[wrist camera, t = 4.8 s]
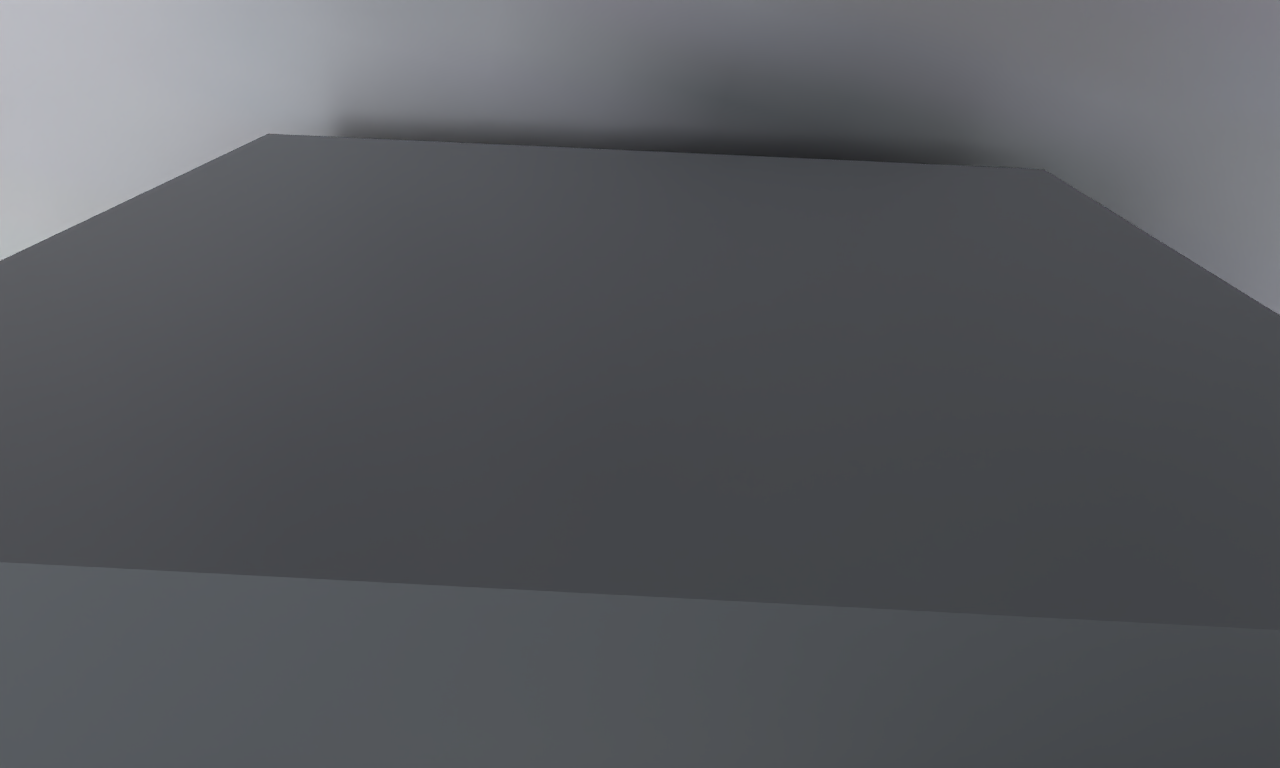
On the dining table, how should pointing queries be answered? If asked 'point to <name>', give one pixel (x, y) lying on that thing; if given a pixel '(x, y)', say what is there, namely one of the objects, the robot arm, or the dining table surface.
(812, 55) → the dining table surface
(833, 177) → the smooth grey cube
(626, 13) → the dining table surface
